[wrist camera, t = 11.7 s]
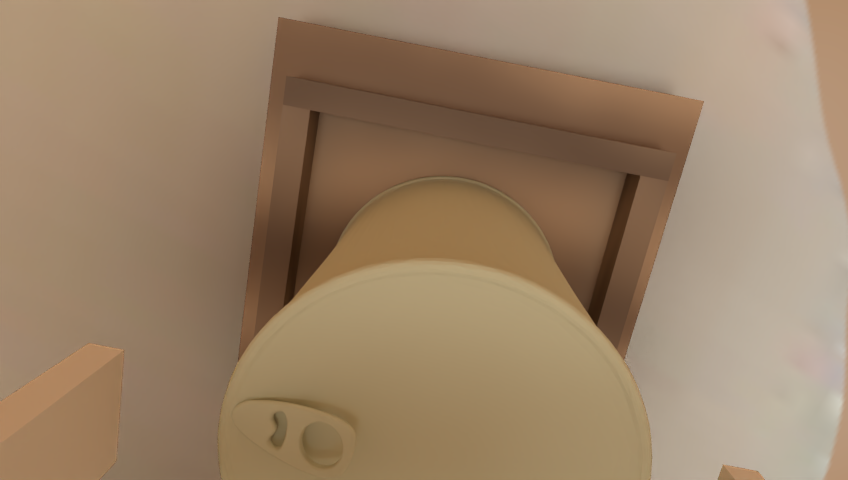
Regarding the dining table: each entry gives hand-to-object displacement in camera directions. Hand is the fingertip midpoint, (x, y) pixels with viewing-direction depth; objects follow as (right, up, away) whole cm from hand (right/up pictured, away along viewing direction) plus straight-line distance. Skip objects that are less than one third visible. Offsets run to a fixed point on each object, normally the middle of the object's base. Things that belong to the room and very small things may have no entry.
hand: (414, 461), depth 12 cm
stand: (+1, +4, +14) cm, 14 cm away
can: (+1, +3, +11) cm, 11 cm away
